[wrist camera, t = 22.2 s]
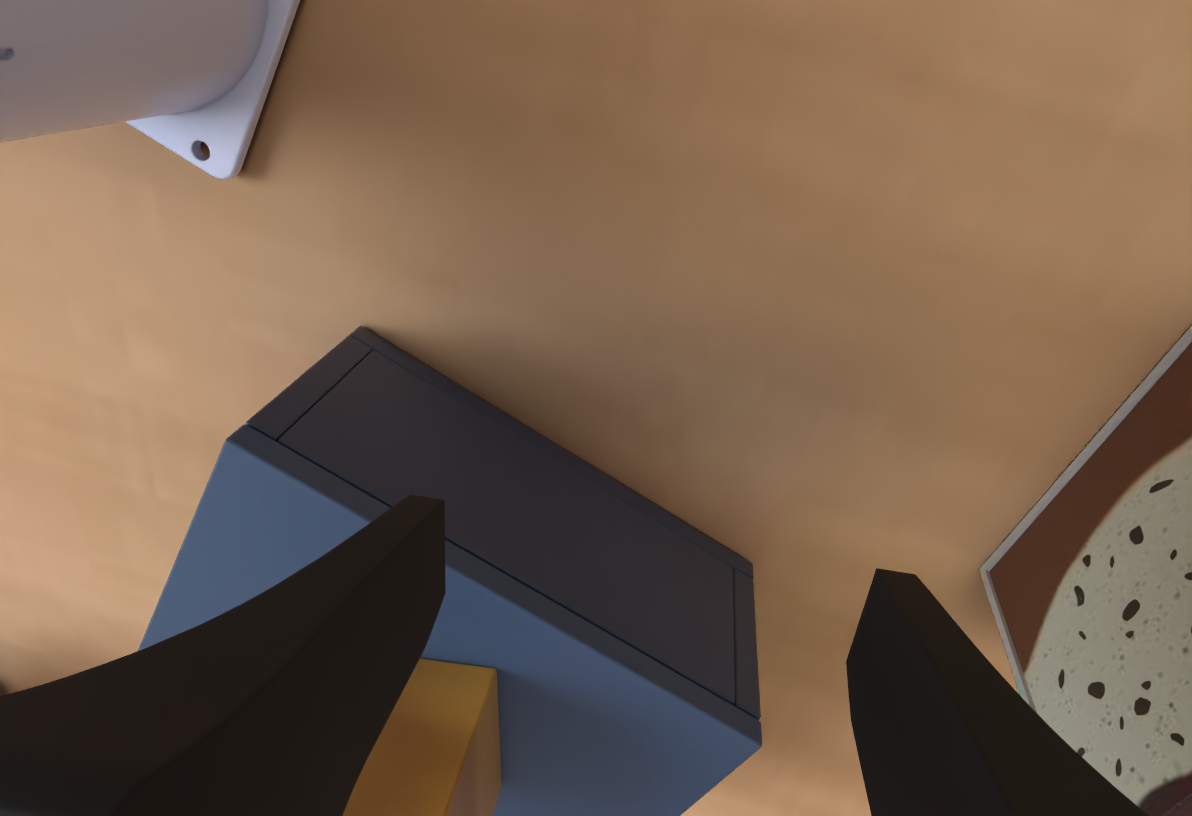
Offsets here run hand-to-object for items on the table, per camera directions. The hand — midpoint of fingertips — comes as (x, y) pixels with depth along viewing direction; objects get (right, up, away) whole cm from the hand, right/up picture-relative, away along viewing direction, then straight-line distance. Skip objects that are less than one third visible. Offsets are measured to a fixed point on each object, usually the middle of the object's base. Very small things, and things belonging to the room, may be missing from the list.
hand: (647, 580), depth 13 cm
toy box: (-4, -2, +14) cm, 14 cm away
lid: (-6, -5, +8) cm, 11 cm away
